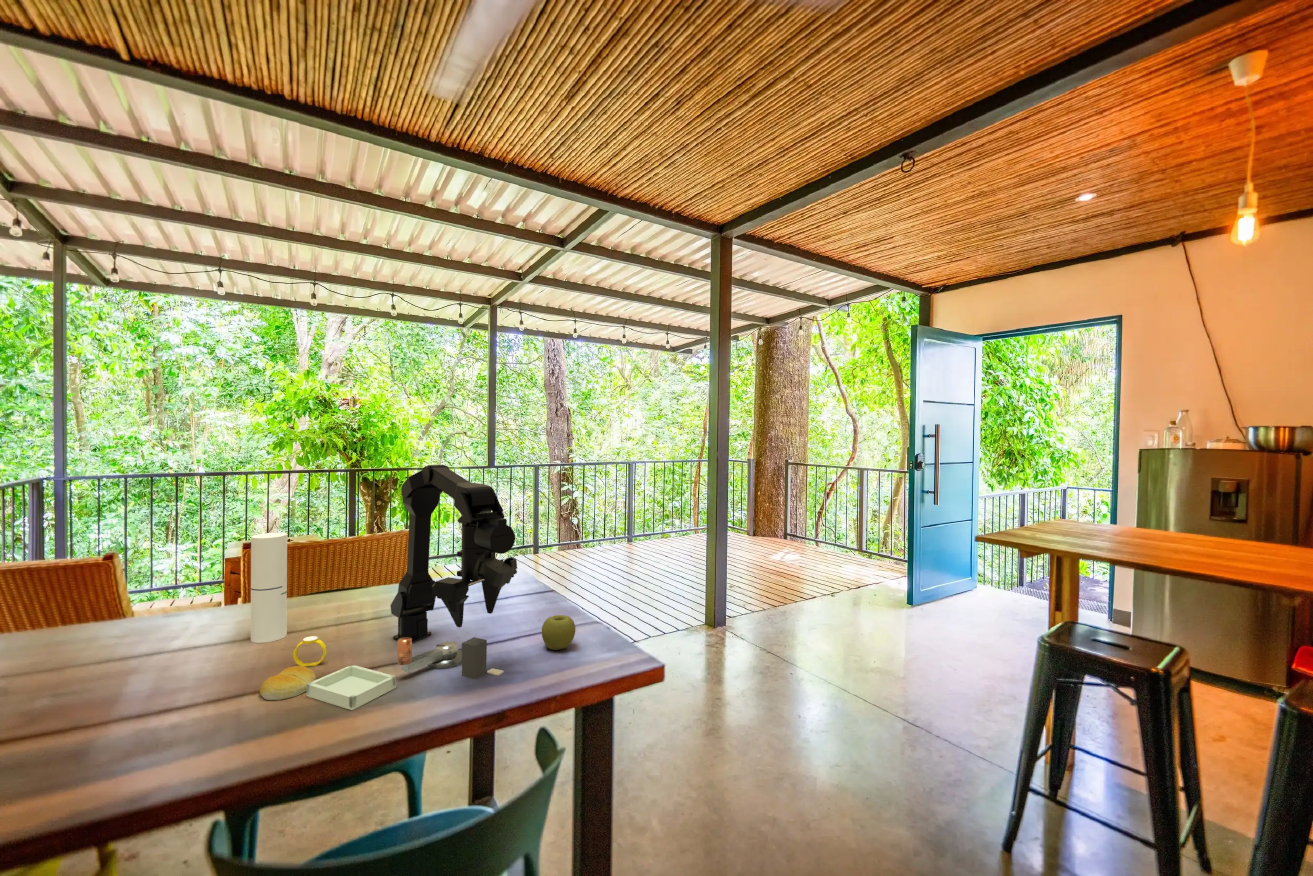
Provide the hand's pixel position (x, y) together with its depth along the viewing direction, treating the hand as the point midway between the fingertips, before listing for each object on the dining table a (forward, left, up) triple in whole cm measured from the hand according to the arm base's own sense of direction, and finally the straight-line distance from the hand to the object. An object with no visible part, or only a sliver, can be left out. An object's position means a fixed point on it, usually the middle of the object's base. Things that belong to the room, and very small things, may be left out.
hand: (475, 619), depth 114 cm
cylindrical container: (-59, -6, -12) cm, 60 cm away
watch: (-35, -12, -12) cm, 39 cm away
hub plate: (-10, +2, -12) cm, 15 cm away
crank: (-11, -2, -10) cm, 15 cm away
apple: (+8, +19, -12) cm, 24 cm away
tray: (-16, -16, -12) cm, 25 cm away
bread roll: (-28, -21, -12) cm, 37 cm away
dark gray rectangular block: (0, 0, -12) cm, 12 cm away
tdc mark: (+4, +2, -12) cm, 12 cm away
